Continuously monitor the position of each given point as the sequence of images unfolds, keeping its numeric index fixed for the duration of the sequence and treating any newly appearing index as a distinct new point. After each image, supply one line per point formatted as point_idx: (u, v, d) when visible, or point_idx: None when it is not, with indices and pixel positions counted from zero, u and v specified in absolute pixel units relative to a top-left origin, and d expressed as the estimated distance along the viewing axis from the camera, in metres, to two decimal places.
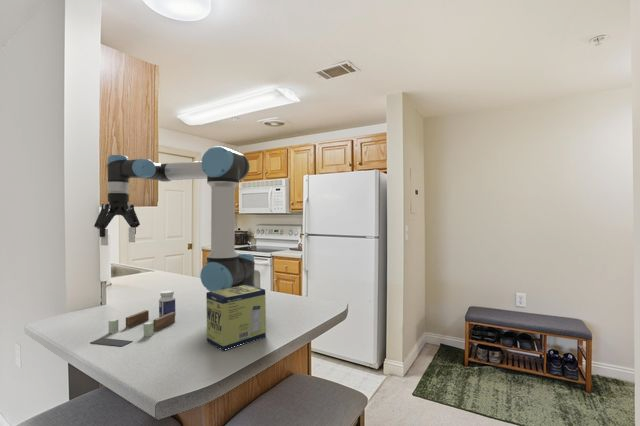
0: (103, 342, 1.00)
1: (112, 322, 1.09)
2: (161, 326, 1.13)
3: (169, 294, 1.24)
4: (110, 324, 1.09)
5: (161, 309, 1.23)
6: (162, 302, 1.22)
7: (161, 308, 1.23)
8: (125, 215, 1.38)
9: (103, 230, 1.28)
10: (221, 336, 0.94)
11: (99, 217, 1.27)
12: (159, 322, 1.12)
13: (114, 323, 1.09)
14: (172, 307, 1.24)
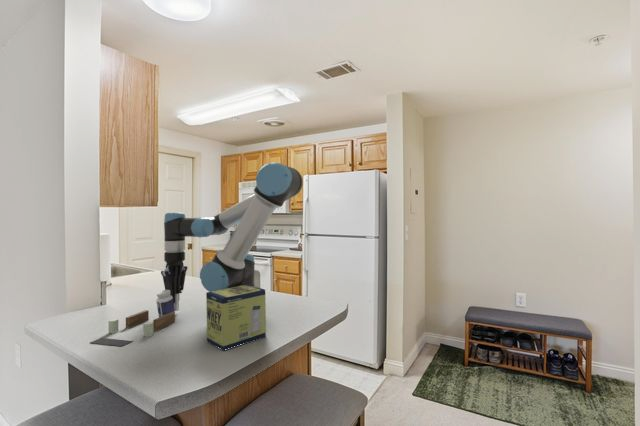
0: (103, 342, 1.00)
1: (112, 322, 1.09)
2: (161, 326, 1.13)
3: (166, 294, 1.22)
4: (110, 324, 1.09)
5: (160, 310, 1.22)
6: (159, 303, 1.21)
7: (159, 309, 1.22)
8: (176, 275, 1.30)
9: (173, 296, 1.28)
10: (221, 336, 0.94)
11: (166, 285, 1.26)
12: (159, 322, 1.12)
13: (114, 323, 1.09)
14: (170, 306, 1.23)
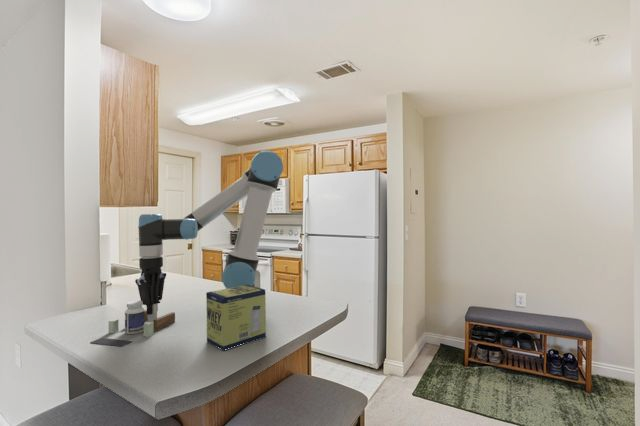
0: (103, 342, 1.00)
1: (112, 322, 1.09)
2: (161, 326, 1.13)
3: (136, 305, 1.08)
4: (110, 324, 1.09)
5: (126, 322, 1.08)
6: (127, 314, 1.07)
7: (126, 321, 1.08)
8: (154, 283, 1.17)
9: (151, 307, 1.15)
10: (221, 336, 0.94)
11: (141, 295, 1.13)
12: (159, 322, 1.12)
13: (114, 323, 1.09)
14: (139, 320, 1.09)
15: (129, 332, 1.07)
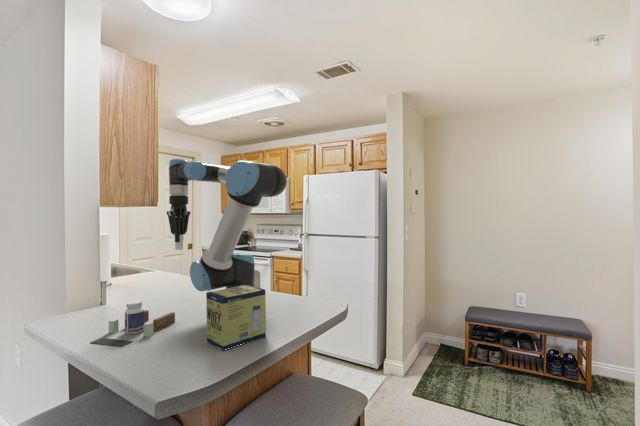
0: (103, 342, 1.00)
1: (112, 322, 1.09)
2: (161, 326, 1.13)
3: (135, 305, 1.08)
4: (110, 324, 1.09)
5: (126, 322, 1.08)
6: (127, 314, 1.07)
7: (126, 321, 1.08)
8: (181, 218, 1.42)
9: (178, 236, 1.40)
10: (221, 336, 0.94)
11: (171, 224, 1.37)
12: (159, 322, 1.12)
13: (114, 323, 1.09)
14: (139, 320, 1.08)
15: (129, 332, 1.07)
